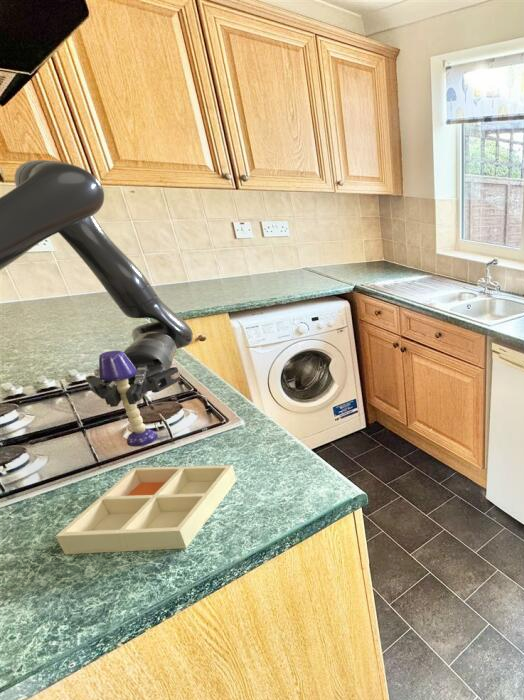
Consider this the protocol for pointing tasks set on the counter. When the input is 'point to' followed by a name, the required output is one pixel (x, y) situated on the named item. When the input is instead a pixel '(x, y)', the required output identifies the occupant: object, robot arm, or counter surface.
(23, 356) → the counter surface
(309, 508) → the counter surface
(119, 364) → the toy lamp
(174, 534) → the grid
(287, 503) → the counter surface
